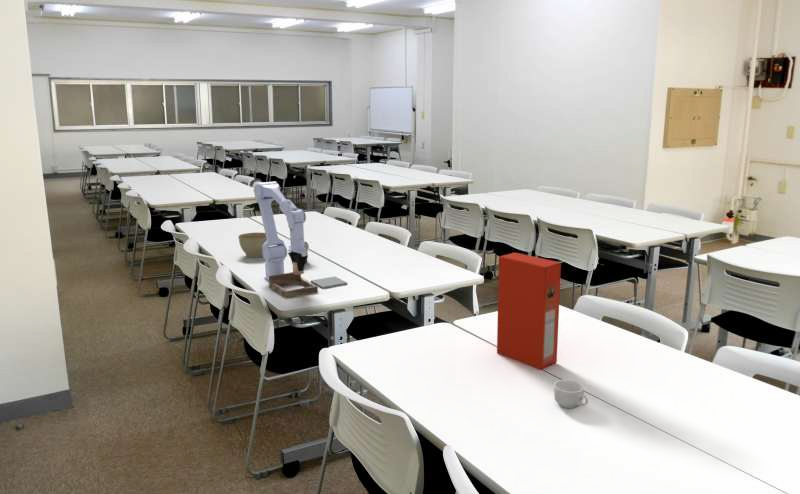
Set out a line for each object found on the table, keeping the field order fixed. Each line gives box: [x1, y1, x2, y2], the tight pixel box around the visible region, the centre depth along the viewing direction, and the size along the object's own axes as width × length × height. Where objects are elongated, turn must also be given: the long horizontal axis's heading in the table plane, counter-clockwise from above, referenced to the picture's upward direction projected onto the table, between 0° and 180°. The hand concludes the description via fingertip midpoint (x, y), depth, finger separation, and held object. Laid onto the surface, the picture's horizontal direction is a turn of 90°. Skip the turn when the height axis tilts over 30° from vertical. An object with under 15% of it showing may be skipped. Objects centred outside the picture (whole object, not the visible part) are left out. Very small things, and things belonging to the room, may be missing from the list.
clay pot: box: [292, 261, 305, 275], centre depth 274 cm, size 5×5×5 cm
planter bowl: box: [238, 232, 267, 258], centre depth 334 cm, size 16×16×11 cm
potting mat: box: [310, 275, 348, 290], centre depth 283 cm, size 12×12×1 cm
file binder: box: [496, 252, 562, 371], centre depth 197 cm, size 8×17×32 cm, turn 40°
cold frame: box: [268, 271, 319, 299], centre depth 274 cm, size 18×14×5 cm
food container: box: [304, 240, 310, 265], centre depth 317 cm, size 12×6×10 cm, turn 168°
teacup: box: [553, 379, 589, 409], centre depth 169 cm, size 10×8×5 cm
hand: (298, 269), depth 274 cm, fingers closed on clay pot, 5 cm apart
